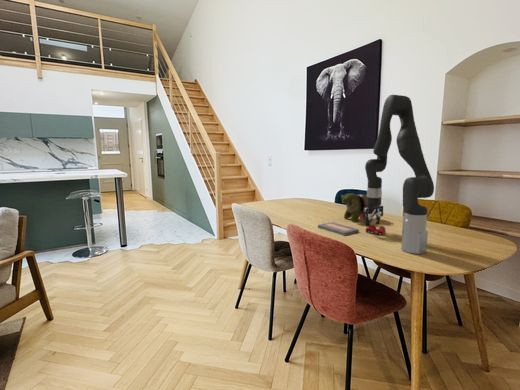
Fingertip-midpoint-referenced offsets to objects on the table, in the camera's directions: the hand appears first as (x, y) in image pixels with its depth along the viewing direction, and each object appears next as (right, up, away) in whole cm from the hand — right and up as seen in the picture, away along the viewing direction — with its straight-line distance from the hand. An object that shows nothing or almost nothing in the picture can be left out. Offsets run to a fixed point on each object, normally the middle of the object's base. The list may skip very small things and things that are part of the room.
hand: (372, 225), depth 155 cm
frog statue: (+2, 0, +31) cm, 31 cm away
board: (-17, -3, +8) cm, 19 cm away
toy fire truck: (0, -5, +1) cm, 5 cm away
